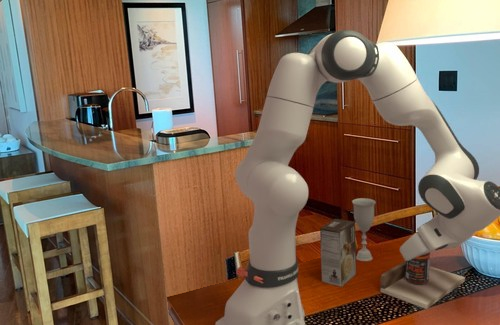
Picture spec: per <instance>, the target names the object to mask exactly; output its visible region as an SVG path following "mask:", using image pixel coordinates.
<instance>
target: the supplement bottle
mask: <svg viewBox="0 0 500 325" xmlns="http://www.w3.org/2000/svg"><path fill="white" fill-rule="evenodd" d="M430 253H431V252H428V253H426V254H424V255H421V256H419V257H416V258H414V259H411V260H409V261H406V280H407V281H408V282H410V283H412V284H417V285H422V284H426V283H427V282H428V281H429V266H430V257H431V254H430Z"/></svg>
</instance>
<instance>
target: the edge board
mask: <svg viewBox="0 0 500 325" xmlns="http://www.w3.org/2000/svg"><path fill="white" fill-rule="evenodd" d="M464 282H466V277H465V276H462V275H458V274H456V273H452V272H449V271H445V270H442V269H439V268H436V267H433V266H430V265H429V281H428V282H427V283H426V284H422V285H417V284H412V283H410V282H408V281H407V280H406V261H405V260H404V261H402V262H401V263H399V264H397V265H395V266H394V267H392V268H390V269H388V270H386V271H385V272H384V273H381V274H380V293H383V294H386V295H387V296H390V297H393V298H396V299H398V300H401V301H404V302H406V303H409V304H411V305H413V306H416V307H420V308H421V309H425V310H427V309H429V308H430V307H432V306H433V305H434V304H436V302H438V301H440V300H441V299H442V298H444V297H445V296H446V295H448V294H449V293H450V292H452V291H453V290H455V289H457V287H460V286H461V285H462V284H463V283H464Z"/></svg>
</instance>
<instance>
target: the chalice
mask: <svg viewBox="0 0 500 325" xmlns="http://www.w3.org/2000/svg"><path fill="white" fill-rule="evenodd" d="M351 202H352V204H353V218H354V222H355V225H357V228H358V229H359V231H361V232H362V236H361V239H362V241H361V243H360V244H361V245H362V248H361V249H359V250H358V251H357V254H356V261H357V260H358V261H361V262H370V261H372V260H373V256H372V254H371V251H370V250H369V249H368V248H366V247H367V244H368V242H367V241H366V240H367V238H368V236H367V235H366V234H367V233H366V232H368V231H369V230H370V228H371V227H372V225H373V222H374V219H375V205H376V202H377V201H376V200H374V199H371V198H364V197H362V198H355V199H353V200H351Z"/></svg>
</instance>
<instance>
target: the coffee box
mask: <svg viewBox="0 0 500 325" xmlns="http://www.w3.org/2000/svg"><path fill="white" fill-rule="evenodd" d="M319 232H320V233H319V234H320V259H321V260H320V263H321V264H320V265H321V266H320V267H321V281H322V283H326V284H329V285H334V286H338V287H343V286H344V285H345V284H347V283H348V282H349V281H350V280H351V279H352V278H354V276H356V274H357V265H356V264H357V259H356V256H357V254H356V222H355V221H354V220H353V221H352V220H346V219H340V218H334V219H332V220H331V221H329V222H327V223H326V224H325V225H323V226H322V227H320V229H319Z"/></svg>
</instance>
